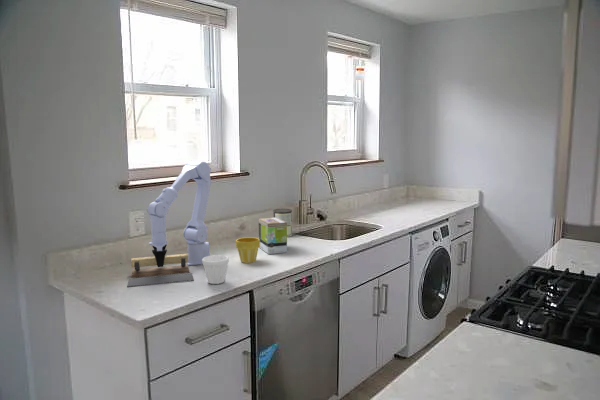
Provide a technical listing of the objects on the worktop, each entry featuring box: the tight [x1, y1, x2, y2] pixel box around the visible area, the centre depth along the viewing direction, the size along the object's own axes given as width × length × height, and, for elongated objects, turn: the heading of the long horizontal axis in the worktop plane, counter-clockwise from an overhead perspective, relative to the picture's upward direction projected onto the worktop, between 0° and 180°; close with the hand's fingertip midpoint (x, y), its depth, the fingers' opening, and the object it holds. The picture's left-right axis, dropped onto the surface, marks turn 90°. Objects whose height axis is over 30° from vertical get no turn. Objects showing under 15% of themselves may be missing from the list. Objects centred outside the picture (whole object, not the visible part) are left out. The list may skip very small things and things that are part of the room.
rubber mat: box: [126, 272, 194, 288], centre depth 178 cm, size 24×9×1 cm, turn 107°
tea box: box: [258, 217, 288, 255], centre depth 222 cm, size 15×10×15 cm
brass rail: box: [130, 253, 188, 268], centre depth 188 cm, size 22×3×3 cm, turn 107°
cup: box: [202, 254, 229, 285], centre depth 175 cm, size 10×10×9 cm
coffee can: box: [272, 208, 293, 238], centre depth 254 cm, size 10×10×14 cm
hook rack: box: [131, 256, 190, 279], centre depth 188 cm, size 22×8×6 cm, turn 107°
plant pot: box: [235, 236, 260, 264], centre depth 203 cm, size 10×10×10 cm
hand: (160, 264), depth 188 cm, fingers open, 7 cm apart
